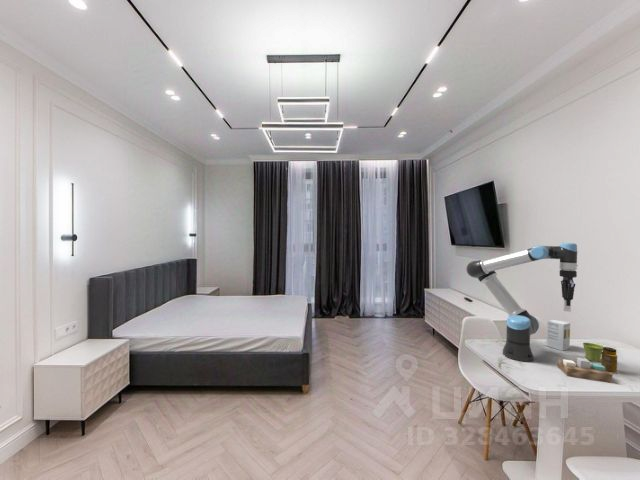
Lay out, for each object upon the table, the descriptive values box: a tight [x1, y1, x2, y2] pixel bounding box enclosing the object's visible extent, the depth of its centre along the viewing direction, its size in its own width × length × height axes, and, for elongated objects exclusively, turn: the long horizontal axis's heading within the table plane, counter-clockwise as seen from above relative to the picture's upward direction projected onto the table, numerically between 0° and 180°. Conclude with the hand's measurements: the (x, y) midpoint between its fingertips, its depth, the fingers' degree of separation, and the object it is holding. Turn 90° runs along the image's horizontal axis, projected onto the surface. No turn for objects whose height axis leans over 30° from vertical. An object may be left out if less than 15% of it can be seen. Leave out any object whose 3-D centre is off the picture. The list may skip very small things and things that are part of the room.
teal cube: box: [590, 362, 605, 371], centre depth 150 cm, size 4×4×4 cm
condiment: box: [600, 346, 622, 375], centre depth 158 cm, size 7×8×12 cm
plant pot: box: [581, 342, 604, 363], centre depth 172 cm, size 9×9×9 cm
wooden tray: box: [557, 359, 613, 384], centre depth 152 cm, size 18×12×4 cm, turn 70°
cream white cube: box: [562, 358, 576, 367], centre depth 155 cm, size 4×4×4 cm
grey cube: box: [576, 357, 591, 369], centre depth 152 cm, size 4×4×4 cm
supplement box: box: [546, 319, 571, 352], centre depth 192 cm, size 10×9×17 cm
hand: (567, 311), depth 167 cm, fingers closed
